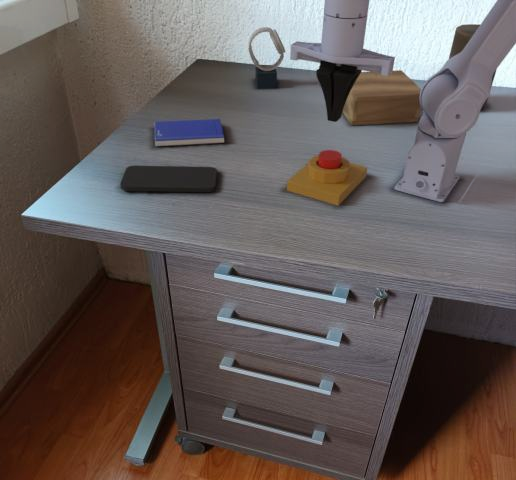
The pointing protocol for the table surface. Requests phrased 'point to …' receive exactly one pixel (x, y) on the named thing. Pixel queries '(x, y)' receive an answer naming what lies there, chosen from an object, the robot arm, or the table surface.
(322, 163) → the button
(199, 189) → the phone
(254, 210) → the table surface
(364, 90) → the lid
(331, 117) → the robot arm
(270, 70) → the watch
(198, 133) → the blue hardcover book
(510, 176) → the table surface
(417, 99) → the chest
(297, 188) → the button block
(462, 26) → the pillar candle
